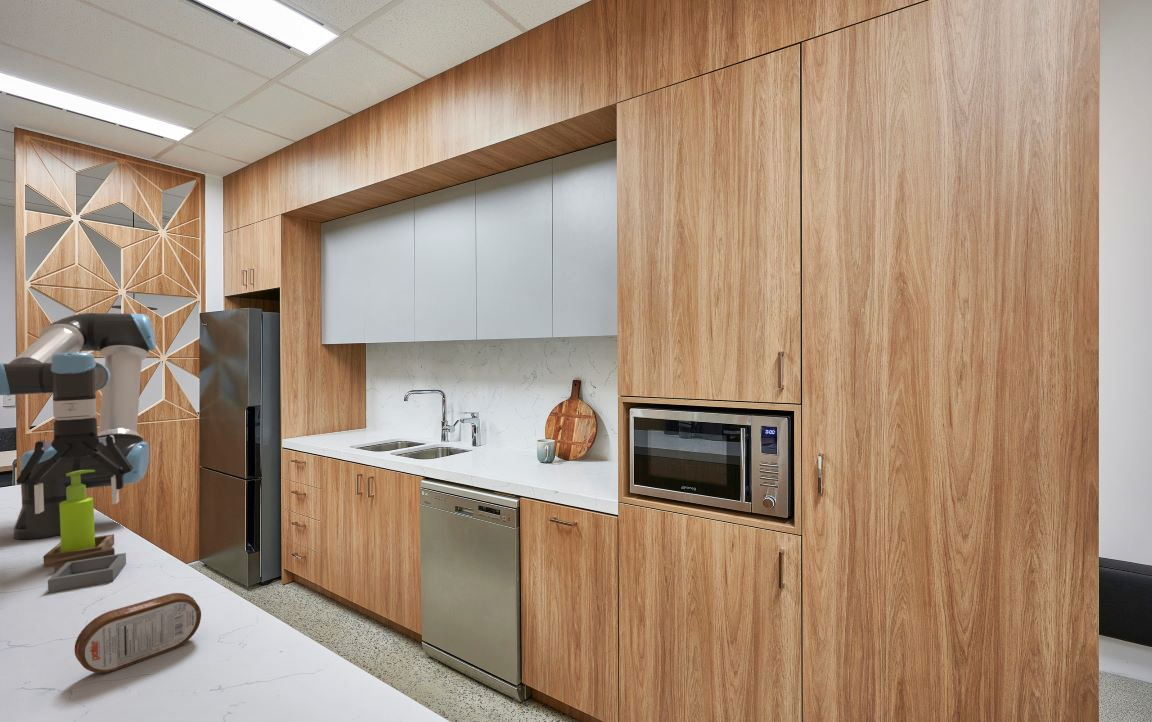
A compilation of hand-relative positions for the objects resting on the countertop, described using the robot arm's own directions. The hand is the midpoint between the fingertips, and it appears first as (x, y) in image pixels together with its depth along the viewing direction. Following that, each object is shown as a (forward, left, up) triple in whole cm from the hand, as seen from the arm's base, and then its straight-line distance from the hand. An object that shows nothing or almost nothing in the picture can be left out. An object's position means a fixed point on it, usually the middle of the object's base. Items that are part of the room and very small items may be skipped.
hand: (78, 507), depth 127 cm
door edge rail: (+9, +3, -11) cm, 15 cm away
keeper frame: (+19, +6, -11) cm, 23 cm away
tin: (+65, +23, -12) cm, 70 cm away
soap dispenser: (0, 0, -12) cm, 12 cm away
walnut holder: (0, 0, -11) cm, 11 cm away
